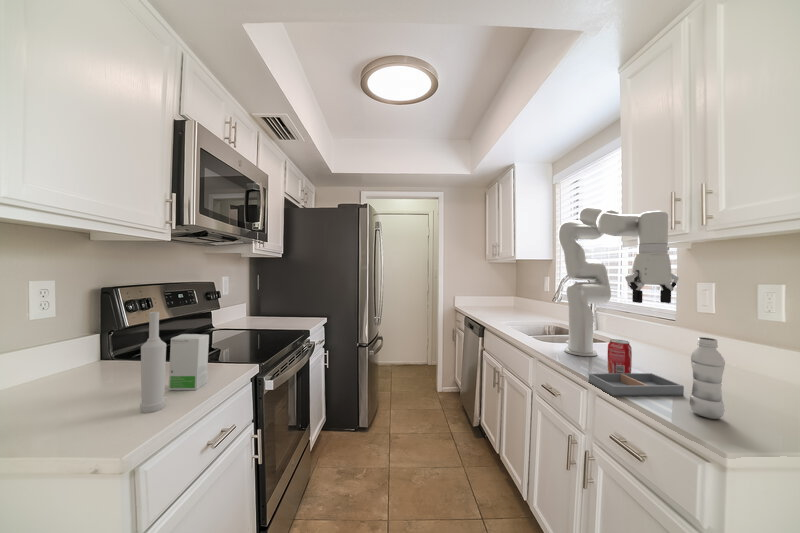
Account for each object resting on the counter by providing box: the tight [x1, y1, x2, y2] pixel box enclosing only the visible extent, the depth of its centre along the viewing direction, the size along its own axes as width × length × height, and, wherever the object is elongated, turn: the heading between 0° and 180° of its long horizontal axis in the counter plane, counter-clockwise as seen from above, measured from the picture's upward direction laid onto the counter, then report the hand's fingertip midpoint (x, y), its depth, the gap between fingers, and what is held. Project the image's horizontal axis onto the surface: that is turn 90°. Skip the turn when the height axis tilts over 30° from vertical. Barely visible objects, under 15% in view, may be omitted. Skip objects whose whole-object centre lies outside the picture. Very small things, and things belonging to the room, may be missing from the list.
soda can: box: [606, 338, 633, 373], centre depth 111 cm, size 7×7×12 cm
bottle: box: [139, 311, 167, 414], centre depth 81 cm, size 5×5×25 cm
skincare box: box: [167, 333, 210, 391], centre depth 96 cm, size 8×7×16 cm
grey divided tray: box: [588, 372, 685, 398], centre depth 98 cm, size 11×22×3 cm, turn 93°
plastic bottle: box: [689, 336, 726, 420], centre depth 80 cm, size 6×7×20 cm
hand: (651, 302), depth 101 cm, fingers open, 9 cm apart
